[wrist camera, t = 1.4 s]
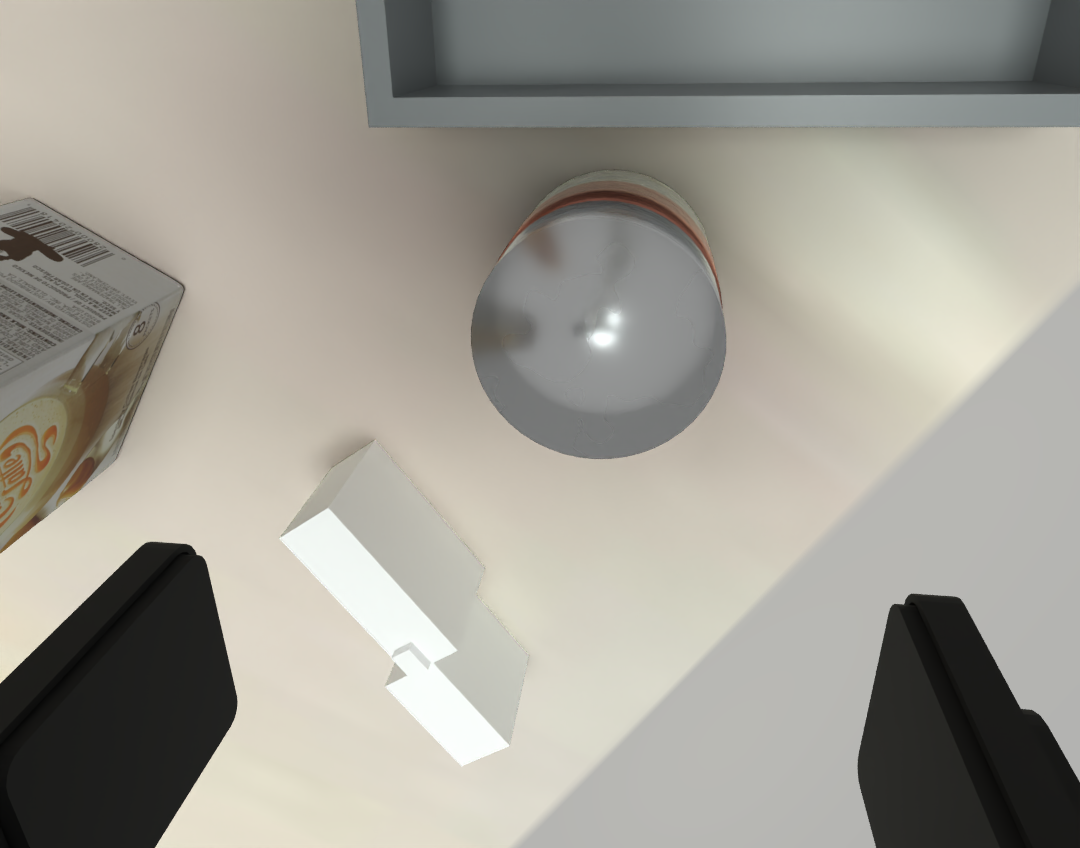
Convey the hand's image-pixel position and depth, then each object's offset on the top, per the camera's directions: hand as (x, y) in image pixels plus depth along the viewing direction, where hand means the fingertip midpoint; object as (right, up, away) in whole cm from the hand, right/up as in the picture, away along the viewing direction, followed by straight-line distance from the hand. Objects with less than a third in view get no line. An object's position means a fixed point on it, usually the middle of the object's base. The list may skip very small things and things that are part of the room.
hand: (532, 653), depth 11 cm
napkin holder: (-4, -3, +23) cm, 23 cm away
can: (+2, +8, +15) cm, 18 cm away
